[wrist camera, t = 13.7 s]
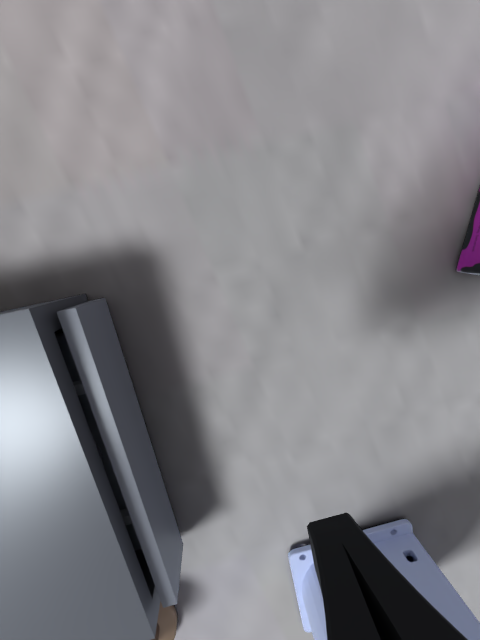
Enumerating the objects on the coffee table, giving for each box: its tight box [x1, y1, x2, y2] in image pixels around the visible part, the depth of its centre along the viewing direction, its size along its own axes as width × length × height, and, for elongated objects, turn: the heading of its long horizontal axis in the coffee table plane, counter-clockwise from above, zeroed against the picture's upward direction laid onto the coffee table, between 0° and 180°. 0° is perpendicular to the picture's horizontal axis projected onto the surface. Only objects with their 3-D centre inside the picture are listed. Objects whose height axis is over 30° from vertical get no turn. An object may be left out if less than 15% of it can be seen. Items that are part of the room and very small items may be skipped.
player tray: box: [55, 298, 183, 608], centre depth 15 cm, size 13×17×3 cm
